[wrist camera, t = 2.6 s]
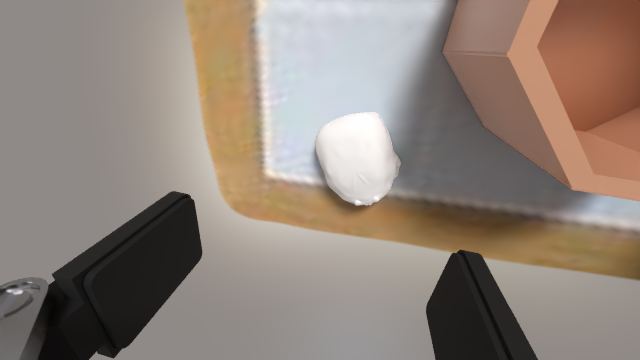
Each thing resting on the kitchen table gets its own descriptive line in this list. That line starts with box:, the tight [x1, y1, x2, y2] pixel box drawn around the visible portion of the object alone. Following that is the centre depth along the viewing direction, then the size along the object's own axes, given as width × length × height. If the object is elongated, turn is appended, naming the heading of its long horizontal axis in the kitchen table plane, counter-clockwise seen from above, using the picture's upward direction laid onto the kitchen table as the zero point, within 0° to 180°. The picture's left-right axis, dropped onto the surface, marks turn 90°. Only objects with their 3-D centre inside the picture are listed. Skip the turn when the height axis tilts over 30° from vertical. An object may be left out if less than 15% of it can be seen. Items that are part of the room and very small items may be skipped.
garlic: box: [315, 112, 401, 206], centre depth 21 cm, size 8×7×4 cm
